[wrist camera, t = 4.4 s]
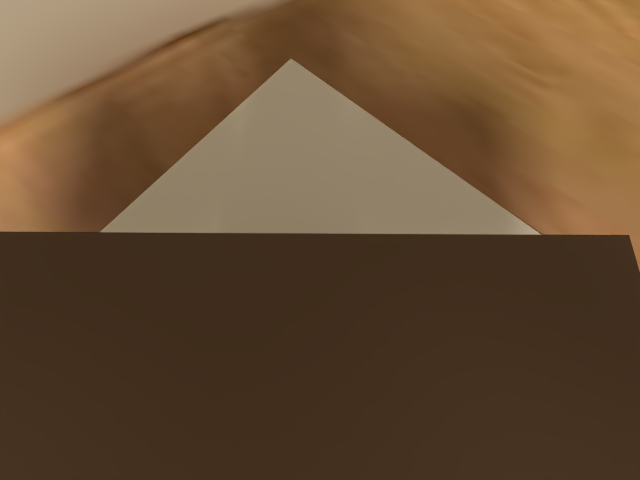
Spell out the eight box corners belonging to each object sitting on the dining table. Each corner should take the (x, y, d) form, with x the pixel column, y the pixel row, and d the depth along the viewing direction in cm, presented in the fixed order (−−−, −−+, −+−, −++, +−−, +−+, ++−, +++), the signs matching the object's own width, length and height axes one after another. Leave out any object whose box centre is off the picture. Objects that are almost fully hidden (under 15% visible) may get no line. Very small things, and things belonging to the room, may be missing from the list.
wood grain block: (379, 431, 14) (727, 579, 3) (197, 437, 14) (-197, 637, 3) (373, 352, 15) (628, 234, 4) (203, 355, 15) (-72, 231, 3)
